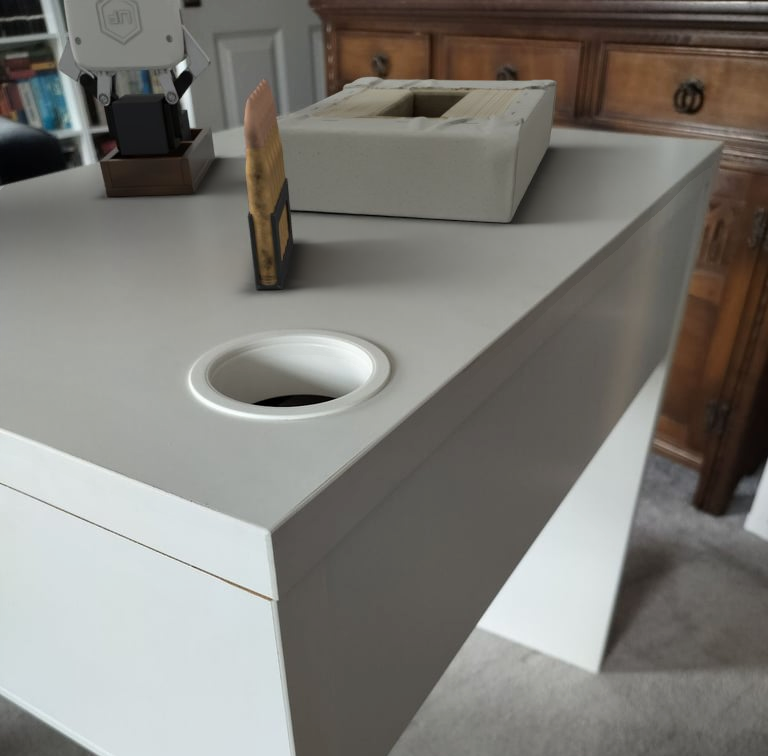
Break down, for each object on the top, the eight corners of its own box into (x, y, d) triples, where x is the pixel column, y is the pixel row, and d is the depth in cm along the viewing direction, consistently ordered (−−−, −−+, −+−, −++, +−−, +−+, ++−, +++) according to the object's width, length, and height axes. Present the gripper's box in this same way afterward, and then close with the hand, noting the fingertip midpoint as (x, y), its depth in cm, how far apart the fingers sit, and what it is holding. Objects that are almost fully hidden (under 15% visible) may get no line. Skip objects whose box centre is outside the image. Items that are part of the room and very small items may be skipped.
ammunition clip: (270, 243, 64) (253, 76, 57) (293, 243, 64) (278, 76, 57) (256, 290, 55) (232, 100, 48) (282, 289, 55) (262, 99, 48)
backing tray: (107, 197, 77) (99, 161, 76) (141, 160, 91) (135, 129, 89) (193, 193, 78) (188, 158, 76) (215, 158, 91) (211, 127, 89)
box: (518, 227, 66) (552, 146, 91) (524, 127, 62) (558, 70, 87) (264, 218, 72) (361, 144, 97) (252, 125, 67) (357, 72, 92)
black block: (121, 155, 77) (111, 103, 74) (134, 144, 81) (124, 94, 79) (166, 154, 77) (158, 101, 74) (176, 142, 81) (168, 93, 79)
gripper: (-4, -79, 65) (54, 157, 76) (200, -83, 65) (229, 152, 76) (26, -77, 71) (75, 142, 82) (212, -81, 71) (237, 137, 82)
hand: (149, 145), depth 79 cm, fingers closed on black block, 4 cm apart
